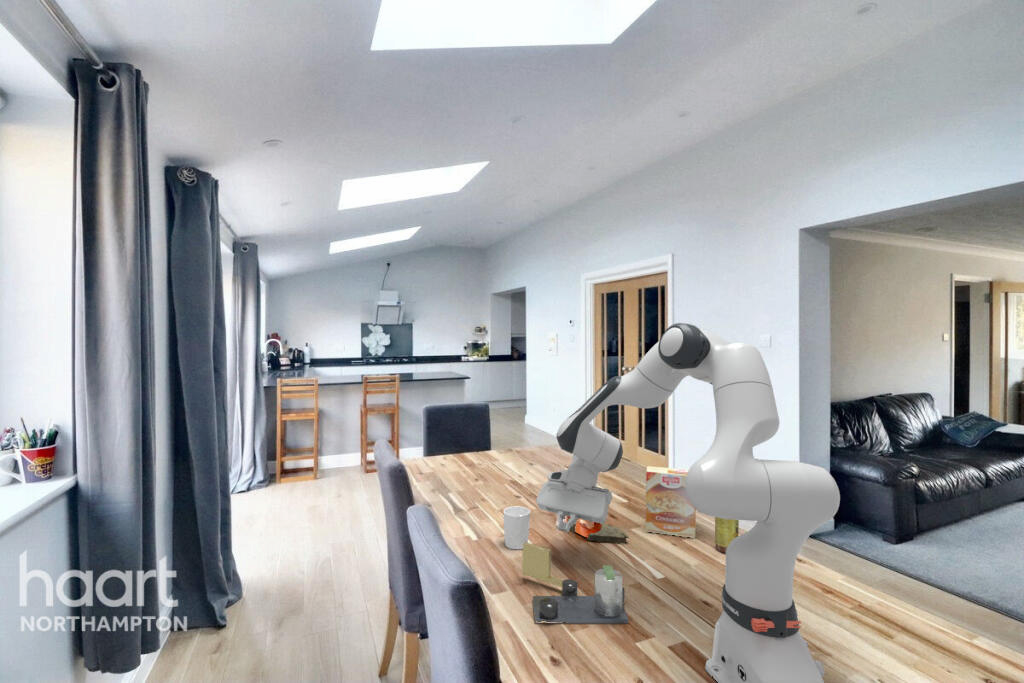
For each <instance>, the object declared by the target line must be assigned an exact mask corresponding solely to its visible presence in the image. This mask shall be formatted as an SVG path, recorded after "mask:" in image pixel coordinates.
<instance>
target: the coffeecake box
mask: <svg viewBox="0 0 1024 683" xmlns="http://www.w3.org/2000/svg"><path fill="white" fill-rule="evenodd" d="M688 471H689V469H683V468H673V467H664V466H663V467H662V466H652V465H647V466H646V471H645V527H644V528H645V529H644V530H645V533H647V532H652V533H651V534H656V533H660V534H659V535H663V534H667V535H666V536H672V535H675V536H674V537H679V536H682V537H681V538H687V537H690V538H689V539H695V538H696V521H697V520H696V519H697V518H696V516H697V514H696V513H697V510H696V509H695V508H694V506H693V505H692V504H691V502H690V500H689V498H688V496H687V492H686V487H685V482H686V476H687V473H688Z"/></svg>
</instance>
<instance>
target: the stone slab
mask: <svg viewBox="0 0 1024 683" xmlns="http://www.w3.org/2000/svg"><path fill="white" fill-rule="evenodd" d="M570 519H571V518H570ZM570 519H568V521H569V520H570ZM575 526H576V524H574V525H573V526H572V527H571V528H570V530H569V531H571V532H573V533H575ZM575 534H576V533H575ZM628 538H630V536H629V535H628V534H626V533H625V532H624V531H623V530H622V529H620V528H619V527H616V526H614V525H612V524H610V523H609V524H607V523H605V522H604V523H603V524H602V528H601V530H600V531H598V532H596V533H590V534H589V535H588V538H587V539H586V540H588V541H590V542H598V543H603V542H606V543H614V544H621V543H623V544H626V543H627V539H628Z"/></svg>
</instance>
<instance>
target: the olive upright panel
mask: <svg viewBox="0 0 1024 683" xmlns="http://www.w3.org/2000/svg"><path fill="white" fill-rule="evenodd" d="M522 575H525V576H527V577H531V578H534V579H536V580H539V581H542V582H545V583H548V584H552V585H554V586H557V587H560V588H561V589H562V590H561V592H562V593H561V594H562V596H578V586H579V585H578V582H577V580H575V579H570V578H568V579H567V578H566V579H561V578H558V577H555V576H552V549H550V548H546V547H542V546H539V545H536V544H532V543H529V542H528V543H526V542H525V543H524V544H523V549H522Z"/></svg>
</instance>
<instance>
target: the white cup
mask: <svg viewBox="0 0 1024 683" xmlns="http://www.w3.org/2000/svg"><path fill="white" fill-rule="evenodd" d="M530 519H531V510H530V509H529V508H527V507H525V506H518V505H517V506H508V507H506V508H504V509H503V530H504V531H503V533H504V545H505V547H506V548H508V549H511V550H515V549H516V550H523V544H524V543H525V542H526V543H529V536H530V524H531V522H530V521H531V520H530Z"/></svg>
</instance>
